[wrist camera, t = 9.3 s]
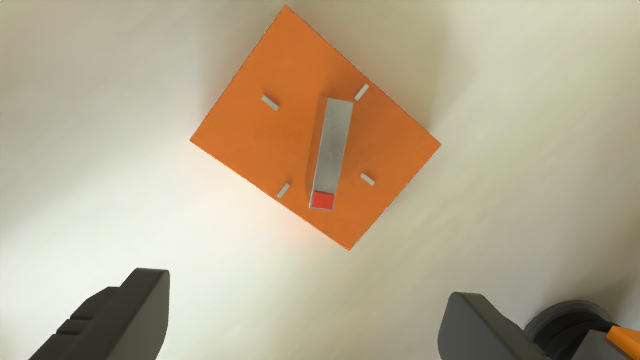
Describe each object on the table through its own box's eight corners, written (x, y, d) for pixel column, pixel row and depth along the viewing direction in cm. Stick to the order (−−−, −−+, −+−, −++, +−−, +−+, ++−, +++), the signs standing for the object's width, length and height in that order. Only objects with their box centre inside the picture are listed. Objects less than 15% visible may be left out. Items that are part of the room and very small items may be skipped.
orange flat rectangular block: (426, 139, 29) (442, 144, 26) (343, 236, 30) (349, 252, 27) (285, 14, 25) (285, 3, 22) (199, 134, 26) (188, 140, 23)
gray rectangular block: (318, 95, 24) (328, 97, 18) (339, 99, 24) (355, 102, 18) (304, 183, 25) (309, 210, 20) (323, 186, 26) (333, 212, 20)
